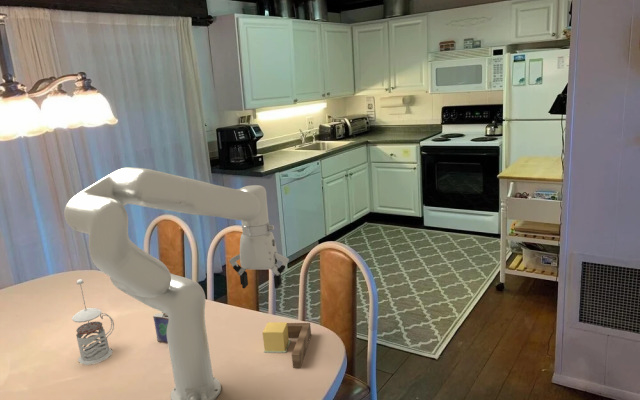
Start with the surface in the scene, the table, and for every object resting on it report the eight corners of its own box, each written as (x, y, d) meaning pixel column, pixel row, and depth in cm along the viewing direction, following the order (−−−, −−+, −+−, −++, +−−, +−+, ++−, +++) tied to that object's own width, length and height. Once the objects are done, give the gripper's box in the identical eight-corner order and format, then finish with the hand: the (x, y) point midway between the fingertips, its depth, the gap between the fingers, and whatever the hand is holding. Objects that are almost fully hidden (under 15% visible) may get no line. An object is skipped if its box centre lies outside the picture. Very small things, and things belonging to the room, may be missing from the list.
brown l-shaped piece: (300, 368, 133) (298, 354, 132) (256, 367, 135) (255, 354, 134) (311, 334, 150) (310, 322, 150) (272, 334, 152) (271, 322, 152)
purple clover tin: (155, 341, 154) (150, 310, 152) (162, 337, 157) (157, 306, 154) (178, 346, 150) (173, 314, 148) (184, 341, 153) (180, 310, 150)
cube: (288, 340, 148) (287, 322, 146) (284, 351, 142) (282, 332, 140) (269, 340, 149) (267, 322, 147) (264, 351, 143) (262, 332, 141)
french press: (73, 356, 149) (57, 280, 143) (112, 341, 156) (98, 268, 151) (82, 369, 142) (65, 289, 136) (123, 353, 149) (108, 276, 143)
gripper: (289, 225, 139) (293, 282, 143) (231, 226, 142) (237, 281, 146) (282, 233, 132) (287, 292, 135) (221, 233, 135) (228, 291, 138)
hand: (261, 286), depth 140 cm, fingers open, 9 cm apart
